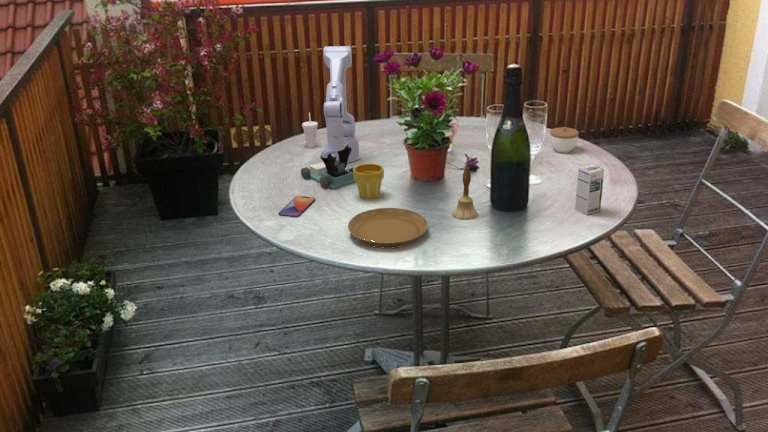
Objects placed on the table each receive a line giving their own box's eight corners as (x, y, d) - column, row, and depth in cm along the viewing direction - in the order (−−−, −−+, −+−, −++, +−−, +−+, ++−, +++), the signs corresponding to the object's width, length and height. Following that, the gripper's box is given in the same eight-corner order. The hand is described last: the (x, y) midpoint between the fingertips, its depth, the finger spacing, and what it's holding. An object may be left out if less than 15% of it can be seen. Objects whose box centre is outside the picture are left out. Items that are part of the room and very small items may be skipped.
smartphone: (277, 216, 234) (277, 213, 233) (296, 198, 246) (296, 195, 246) (298, 219, 232) (298, 216, 231) (316, 200, 244) (316, 197, 244)
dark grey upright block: (334, 175, 261) (333, 160, 258) (345, 178, 258) (344, 162, 256) (327, 179, 258) (326, 163, 255) (338, 181, 255) (337, 165, 253)
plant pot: (347, 195, 247) (346, 169, 243) (368, 187, 253) (368, 160, 249) (369, 203, 240) (368, 176, 236) (390, 194, 247) (390, 167, 243)
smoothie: (320, 143, 297) (318, 110, 291) (317, 149, 291) (315, 115, 285) (305, 143, 298) (302, 110, 292) (302, 148, 292) (299, 115, 286)
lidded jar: (579, 154, 278) (582, 131, 274) (551, 155, 278) (553, 132, 274) (573, 145, 288) (575, 123, 284) (546, 146, 288) (548, 123, 284)
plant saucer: (422, 254, 207) (422, 244, 206) (340, 249, 211) (340, 239, 210) (431, 219, 229) (431, 209, 227) (357, 215, 233) (357, 206, 231)
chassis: (329, 166, 273) (329, 156, 271) (362, 180, 259) (361, 170, 257) (298, 175, 265) (297, 165, 263) (329, 191, 251) (329, 180, 249)
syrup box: (586, 215, 228) (591, 172, 222) (574, 208, 232) (578, 166, 226) (600, 211, 230) (605, 169, 224) (587, 205, 235) (591, 163, 229)
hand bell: (473, 208, 235) (475, 161, 228) (481, 218, 228) (483, 171, 221) (449, 210, 234) (449, 164, 227) (455, 220, 226) (456, 173, 220)
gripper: (337, 126, 258) (339, 162, 264) (313, 138, 247) (315, 175, 253) (354, 129, 255) (355, 165, 261) (330, 141, 244) (332, 178, 249)
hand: (337, 170), depth 256 cm, fingers open, 7 cm apart
